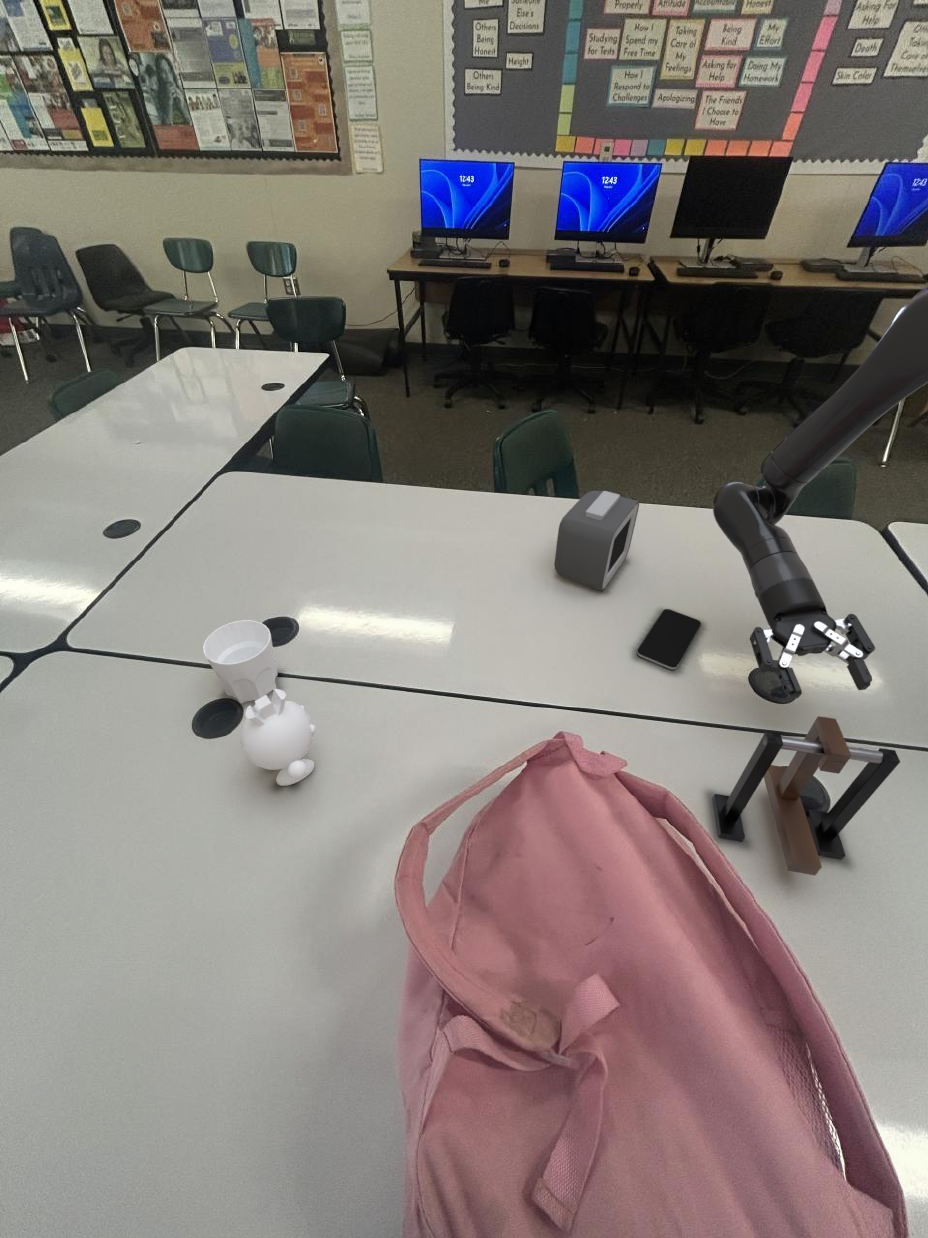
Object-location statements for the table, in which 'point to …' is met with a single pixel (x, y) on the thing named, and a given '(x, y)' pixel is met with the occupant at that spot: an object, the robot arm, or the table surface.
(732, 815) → the rack
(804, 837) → the hanger
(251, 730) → the toy robot
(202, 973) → the table surface
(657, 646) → the smartphone
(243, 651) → the cup
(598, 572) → the alarm clock
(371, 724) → the table surface
